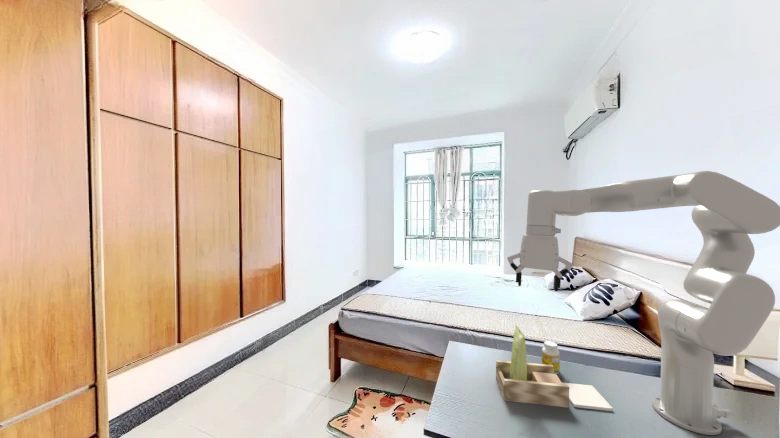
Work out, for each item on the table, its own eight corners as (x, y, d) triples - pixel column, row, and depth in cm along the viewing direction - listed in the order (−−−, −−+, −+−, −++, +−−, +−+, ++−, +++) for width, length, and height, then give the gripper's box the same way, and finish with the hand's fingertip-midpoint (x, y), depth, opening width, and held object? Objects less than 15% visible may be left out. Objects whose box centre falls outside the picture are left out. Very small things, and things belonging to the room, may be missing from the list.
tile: (592, 387, 84) (592, 385, 84) (612, 411, 74) (613, 408, 74) (557, 384, 86) (557, 382, 86) (573, 406, 76) (573, 404, 76)
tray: (552, 383, 86) (552, 365, 86) (569, 407, 76) (569, 387, 75) (495, 377, 89) (496, 360, 89) (504, 400, 78) (504, 380, 78)
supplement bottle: (563, 374, 91) (563, 347, 91) (547, 375, 91) (548, 347, 90) (552, 365, 96) (553, 339, 96) (538, 366, 96) (538, 340, 96)
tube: (532, 392, 82) (533, 330, 81) (523, 398, 79) (524, 334, 79) (515, 382, 87) (515, 323, 86) (505, 388, 84) (506, 327, 83)
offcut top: (556, 381, 84) (556, 374, 84) (564, 395, 77) (564, 387, 77) (532, 379, 85) (532, 371, 85) (538, 392, 79) (538, 384, 79)
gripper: (571, 232, 79) (568, 288, 80) (508, 229, 87) (506, 280, 87) (577, 234, 73) (573, 295, 73) (508, 230, 80) (505, 286, 80)
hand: (537, 287), depth 80 cm, fingers open, 9 cm apart
